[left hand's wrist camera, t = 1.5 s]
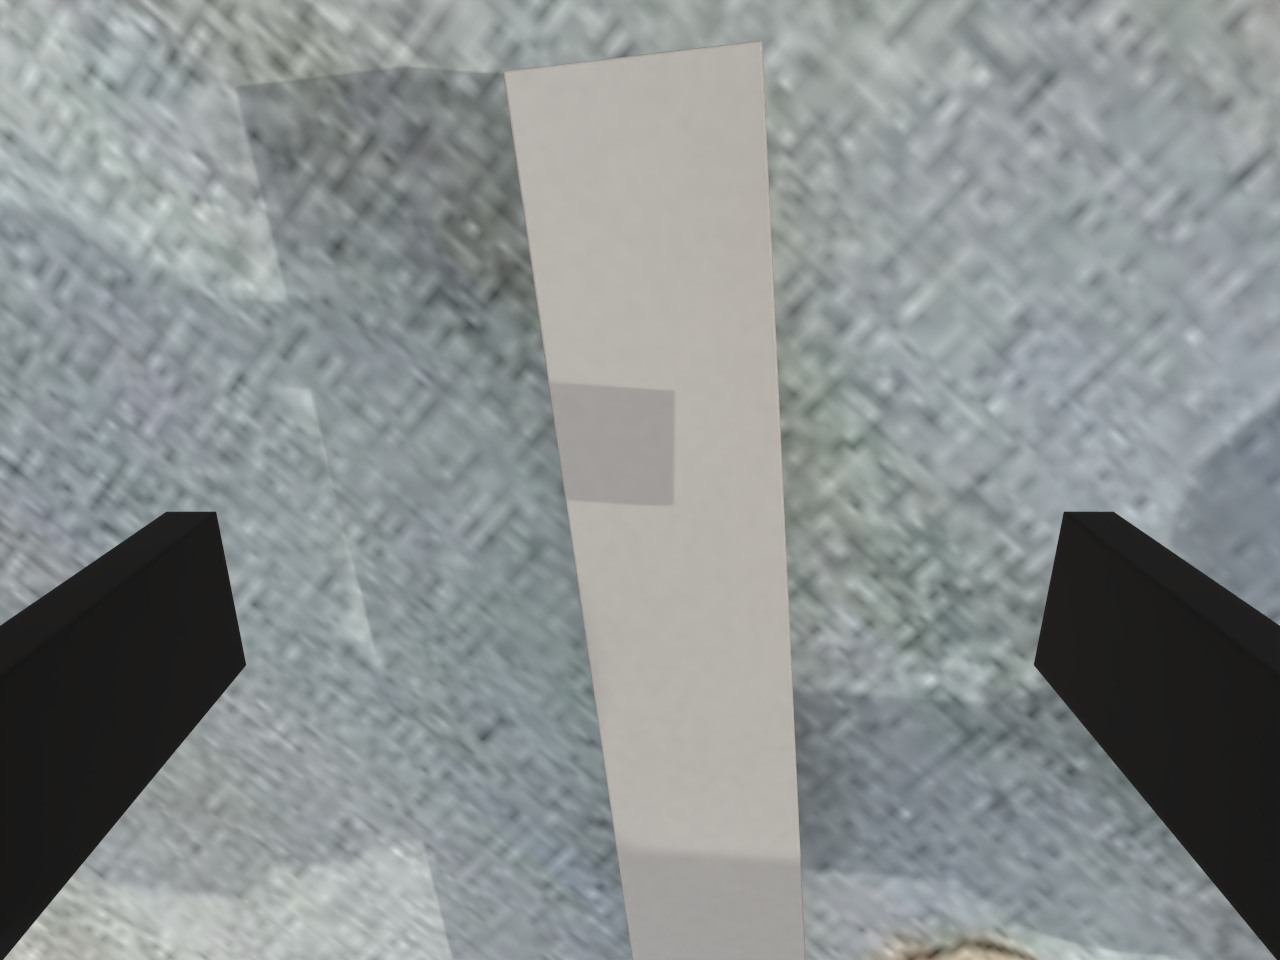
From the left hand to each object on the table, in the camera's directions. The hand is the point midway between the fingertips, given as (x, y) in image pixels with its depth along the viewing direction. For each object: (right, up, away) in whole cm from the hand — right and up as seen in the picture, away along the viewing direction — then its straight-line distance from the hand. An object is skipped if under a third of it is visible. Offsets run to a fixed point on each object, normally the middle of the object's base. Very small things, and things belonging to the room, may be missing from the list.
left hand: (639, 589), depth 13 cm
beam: (+3, -19, +22) cm, 29 cm away
